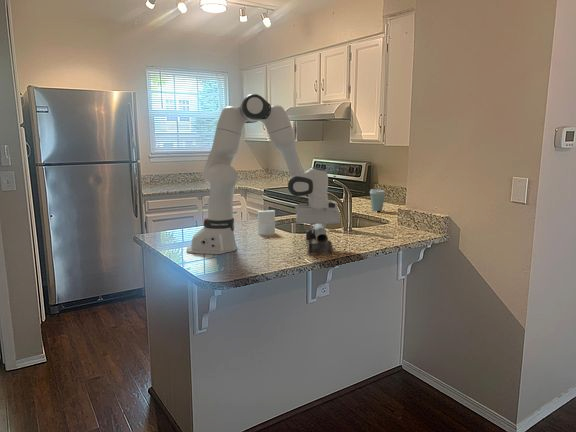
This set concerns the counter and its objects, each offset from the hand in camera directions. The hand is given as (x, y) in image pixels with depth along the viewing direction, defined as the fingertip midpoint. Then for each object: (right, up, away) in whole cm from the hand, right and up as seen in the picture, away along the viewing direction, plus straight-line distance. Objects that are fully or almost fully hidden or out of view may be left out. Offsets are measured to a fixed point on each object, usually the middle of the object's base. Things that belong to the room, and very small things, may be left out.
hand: (317, 232), depth 198 cm
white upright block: (-25, -2, +29) cm, 38 cm away
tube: (+1, -2, 0) cm, 3 cm away
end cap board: (0, -6, +1) cm, 7 cm away
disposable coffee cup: (+47, +11, +94) cm, 105 cm away
